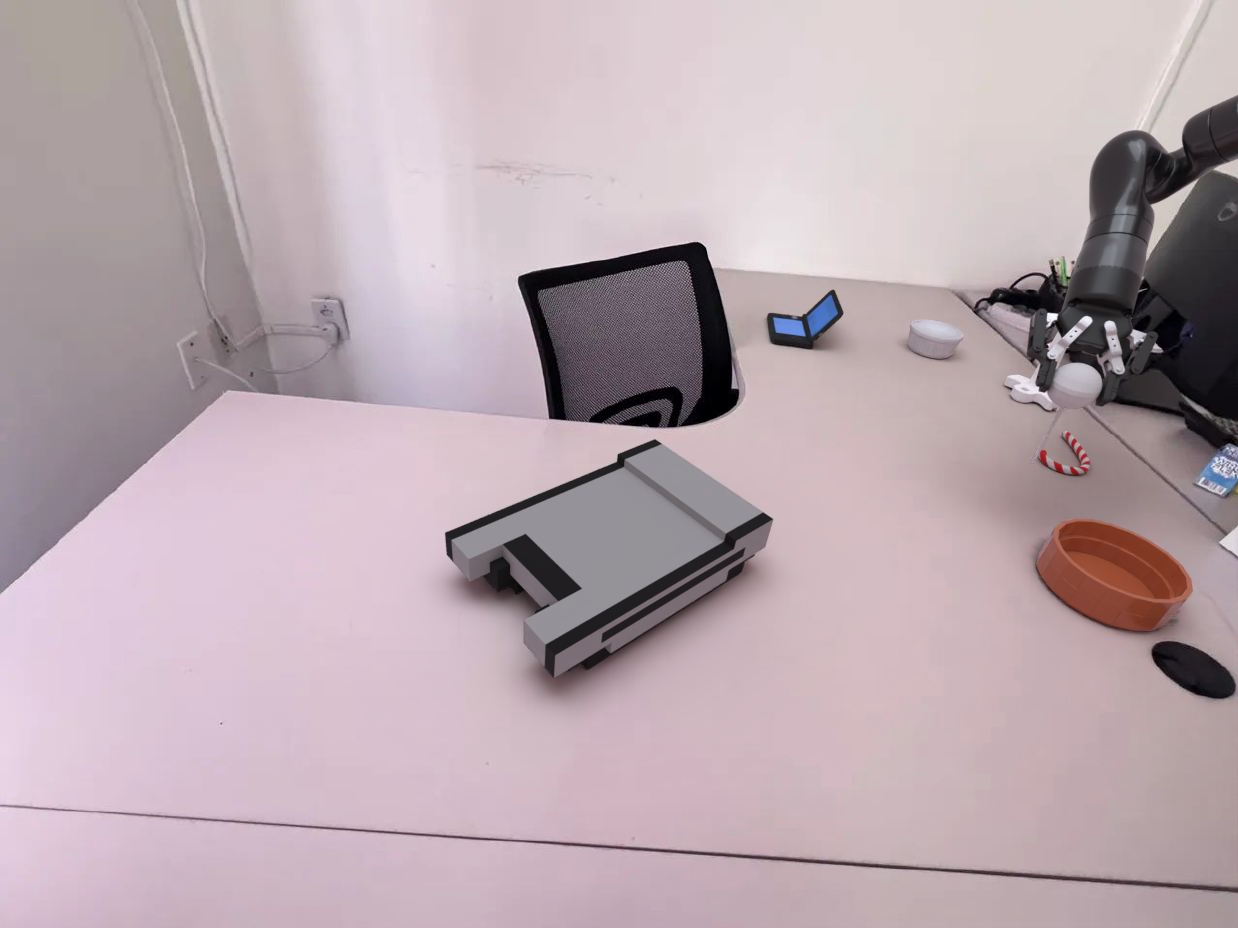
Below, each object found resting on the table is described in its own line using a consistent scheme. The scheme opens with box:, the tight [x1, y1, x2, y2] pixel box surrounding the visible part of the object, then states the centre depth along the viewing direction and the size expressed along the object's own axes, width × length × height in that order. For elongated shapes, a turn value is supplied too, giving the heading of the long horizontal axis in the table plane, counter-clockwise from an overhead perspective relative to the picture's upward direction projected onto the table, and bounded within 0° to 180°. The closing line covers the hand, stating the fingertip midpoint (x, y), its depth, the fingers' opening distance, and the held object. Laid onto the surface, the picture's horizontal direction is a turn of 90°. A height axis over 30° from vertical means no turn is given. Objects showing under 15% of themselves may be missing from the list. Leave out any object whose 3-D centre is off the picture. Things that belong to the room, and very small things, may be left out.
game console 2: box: [444, 438, 774, 679], centre depth 77 cm, size 21×32×8 cm, turn 131°
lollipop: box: [1030, 362, 1103, 465], centre depth 86 cm, size 6×6×15 cm
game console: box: [766, 289, 844, 349], centre depth 144 cm, size 16×14×9 cm
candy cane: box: [1038, 430, 1091, 476], centre depth 113 cm, size 8×1×15 cm
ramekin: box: [907, 319, 965, 360], centre depth 145 cm, size 11×11×5 cm
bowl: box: [1035, 518, 1194, 632], centre depth 84 cm, size 15×15×6 cm
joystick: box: [1003, 331, 1068, 412], centre depth 125 cm, size 11×8×20 cm
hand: (1072, 396), depth 82 cm, fingers closed on lollipop, 6 cm apart
